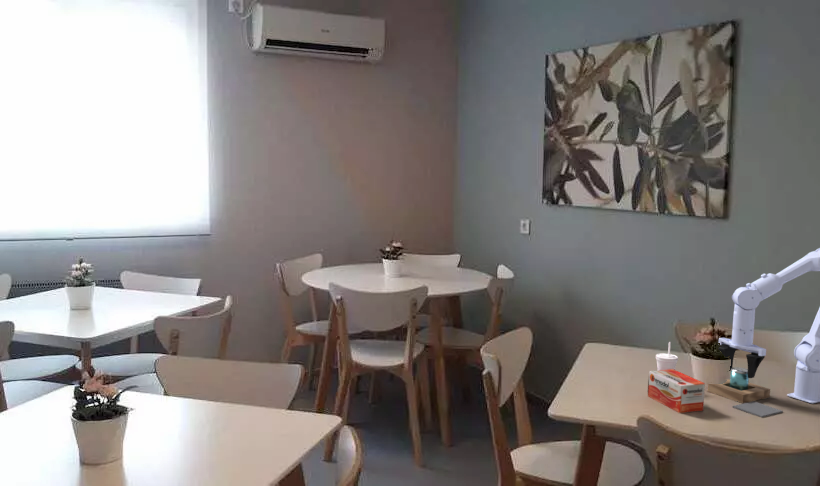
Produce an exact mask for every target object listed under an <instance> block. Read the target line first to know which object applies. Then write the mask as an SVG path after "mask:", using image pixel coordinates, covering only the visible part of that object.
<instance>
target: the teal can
mask: <svg viewBox="0 0 820 486" xmlns="http://www.w3.org/2000/svg"><path fill="white" fill-rule="evenodd" d="M747 372H748V368H745V367H739V366H738V367H733V366H732V368H731V371H730V375H729V376H730V377H729V379H730V387H731V388H734V389H737V390H740V391H743V390H748V383H750V382H749V380H750V378H748V376H747Z"/></svg>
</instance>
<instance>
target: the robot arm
mask: <svg viewBox="0 0 820 486" xmlns="http://www.w3.org/2000/svg"><path fill="white" fill-rule="evenodd" d="M808 272H820V247H818V248H817V249H816V250H812V251H810V252H808V253H807V254H806V255H804V256H803V257H802V258H800V259H798V260H796V261H795V262H794V263H792V264H790V265H788V266H787V267H785V268H784V269H782V270H780V271H779V272H777V273H776V274H775V273H769V272H768V273H762V274H761V275H760V277H759V278H758V279H756V280H754V281H753V282H751V283H750V282H748V283H746V284H745V286H740V287H738V288H736V290H734V292H733V294H732V295H731V300H732V301H733V303H734V308H733V316H732V318H733V319H732V329H731V331H732V332H731V338H726V337H719V338H718V343H720V345H719V347H718V351H719V350H720V351H721V352H722V354H723V355H724V356H725V357H728V356H730V357H729V358H730V359H731V366H730V370H729V371H728V372H731V368H733V365H734V364H733V363H734V357H735V353H736V350H739V351H743V352H747V353H748V354H746V355H745V357H746V362H747V369H748V372H747V376H748V378H749V379H753V378H755V376H756V373H757V370H758V368H759V366H760V365H761V363H762V361H763V360H764V359H765V357H766V355H767V349H766V348H763V347H762V346H758V345H756V344H754V331H755V317H756V309H757V308H758V306H759V305H760V303H761V302H763V301H764V300H765V299H767V298H769V297H771V296H773V295H775V294H777V293H778V292H780V291H781V290H782V288H783V286H784V284H786V283H787V282H790V281H792V280H794V279H796V278H798V277H800V276H803V275H804V274H807V273H808ZM814 317H815V318H814V320H813V323H812V325H811V327H810V330H809V332H808V333H807V334H806V335H805V336H803V337H802V339H801V341H800V342H799V344H797V345H796V346H795V348H794V350H793V354H794V355H793V356H794V358H795V360H797V362H796V366H795V375H794V378H795V379H794V389H793V392H791V393H787V394H786V396H788V397H790V398H794V399H797V400H799V401H803V402H806V403H809V404H816V403H820V306H819V308H818V311H817V312H816V315H815V316H814ZM720 351H719V352H720Z"/></svg>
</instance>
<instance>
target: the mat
mask: <svg viewBox="0 0 820 486" xmlns="http://www.w3.org/2000/svg"><path fill="white" fill-rule="evenodd" d="M732 408H734V409H737V410H739V411H741V412H745V413H748V414H751V415H753V416H756V417H760V418H764V417H768V416H769V417H770V416H773V415H776V414H781V413H783V412H784V410H781V409H778V408H774V407H772V406H769V405H765V404H763V403H761V402H758V401H751V402H747V403H740V404H736V405H732Z"/></svg>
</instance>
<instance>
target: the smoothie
mask: <svg viewBox="0 0 820 486" xmlns="http://www.w3.org/2000/svg"><path fill="white" fill-rule="evenodd" d="M671 344H672V343H671V341H669V342H668V350H667V353H664V352H662V353H656V354H655V359H656V365H657V370H668V369H674V370H676V369H677V368H676V367H677V362H678V361H679V357H678V356H677V355H675V354H672V353H671ZM657 370H656V371H657Z"/></svg>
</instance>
